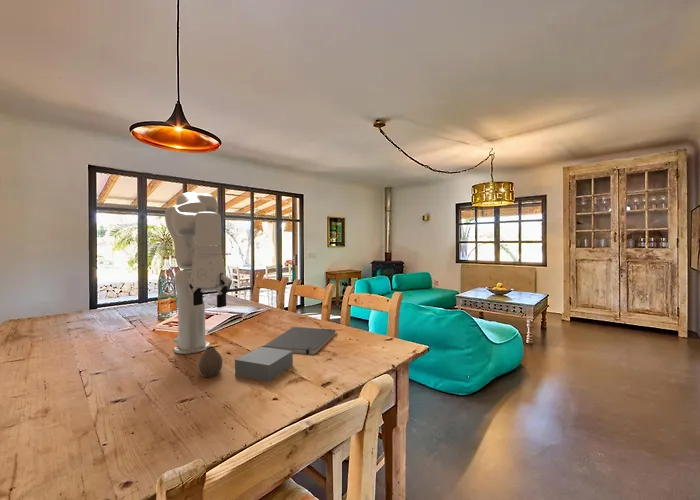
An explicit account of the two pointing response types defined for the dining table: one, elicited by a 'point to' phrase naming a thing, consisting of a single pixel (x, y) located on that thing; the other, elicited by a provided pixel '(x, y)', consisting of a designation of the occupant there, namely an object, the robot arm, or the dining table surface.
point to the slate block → (263, 363)
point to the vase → (210, 362)
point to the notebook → (302, 340)
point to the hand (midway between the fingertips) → (209, 305)
